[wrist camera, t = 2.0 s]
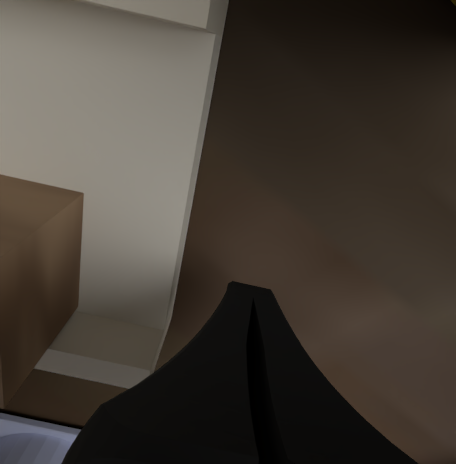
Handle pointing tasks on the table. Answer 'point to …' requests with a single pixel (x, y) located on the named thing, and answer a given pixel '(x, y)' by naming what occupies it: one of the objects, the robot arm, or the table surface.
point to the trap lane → (112, 156)
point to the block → (35, 273)
